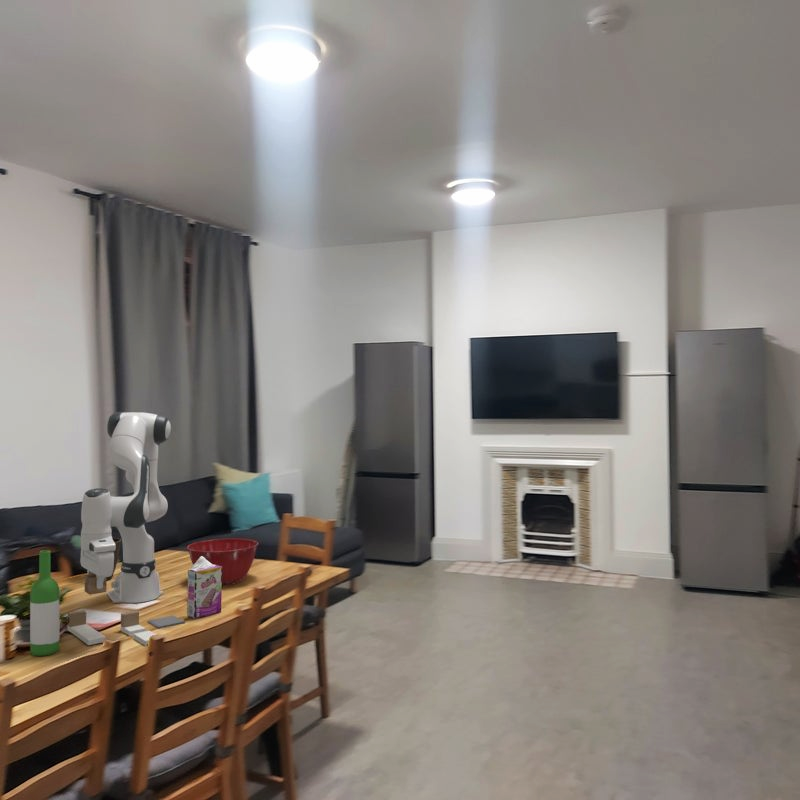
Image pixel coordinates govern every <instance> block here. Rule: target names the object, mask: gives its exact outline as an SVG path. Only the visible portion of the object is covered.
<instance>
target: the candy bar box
mask: <svg viewBox="0 0 800 800" xmlns="http://www.w3.org/2000/svg"><path fill="white" fill-rule="evenodd" d="M222 586H223V585H222V566H219V565H209V566H203V567H198V568H193V569H191V568H190V569H187V605H186V607H187V611H186V614H187V617H188V618H191V619H193V620H196V619H200V618H204V617H207V616H211V615H212V616H213V615H215V614H219V613H221V612H222Z"/></svg>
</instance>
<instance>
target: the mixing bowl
mask: <svg viewBox="0 0 800 800" xmlns="http://www.w3.org/2000/svg"><path fill="white" fill-rule="evenodd" d="M258 545H259V542H258V541H256V540H253V539H247V538H218V539H216V538H215V539H208V540H201V541H197V542H196V541H195V542H193V543H191V544H188V545H187V547H186V548H187V550H188V553H189V557H190V560H191V563H192V566H193V565H194V564H195V563H196V561H197V560H198V559H199V558H200V557H201V556H203V557H204V558H205V559H206V560H207V561H209V562H210V563H211V564H212V565H219V566H222V586H230V585H234V584H233V583H235V584H237V582H238V583H239V582H241V580H244V578H245V577H246V576H247V575H248V573H249V571H250V569H251V568H252V567H251V566H252V564H253V562H254V559H255V556H256V553H257V549H258ZM229 584H230V585H229Z"/></svg>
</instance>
